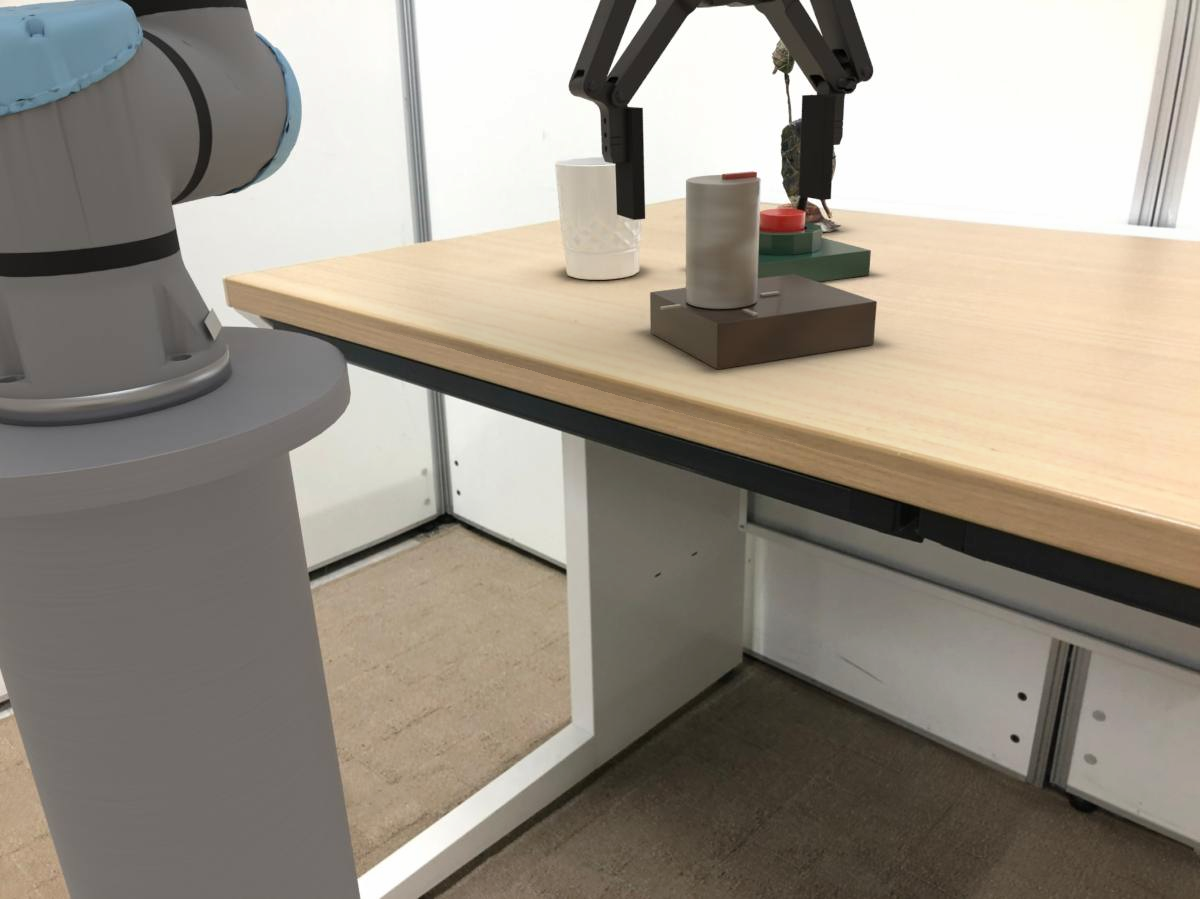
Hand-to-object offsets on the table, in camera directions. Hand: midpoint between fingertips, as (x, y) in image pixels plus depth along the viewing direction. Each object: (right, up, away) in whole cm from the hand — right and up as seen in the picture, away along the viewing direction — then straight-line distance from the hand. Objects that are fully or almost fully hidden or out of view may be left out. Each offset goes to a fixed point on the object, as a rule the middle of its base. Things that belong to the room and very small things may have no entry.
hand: (726, 207), depth 64 cm
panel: (+3, -8, +5) cm, 10 cm away
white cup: (-8, 0, +27) cm, 28 cm away
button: (+8, +4, +23) cm, 25 cm away
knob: (0, -6, +2) cm, 6 cm away
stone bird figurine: (+14, +8, +45) cm, 48 cm away
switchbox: (+8, 0, +24) cm, 26 cm away
